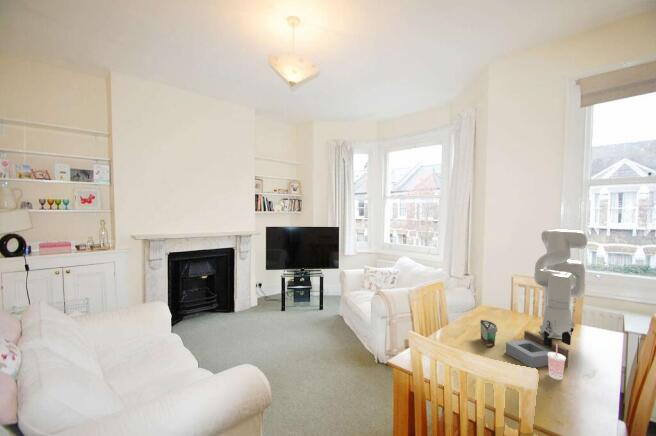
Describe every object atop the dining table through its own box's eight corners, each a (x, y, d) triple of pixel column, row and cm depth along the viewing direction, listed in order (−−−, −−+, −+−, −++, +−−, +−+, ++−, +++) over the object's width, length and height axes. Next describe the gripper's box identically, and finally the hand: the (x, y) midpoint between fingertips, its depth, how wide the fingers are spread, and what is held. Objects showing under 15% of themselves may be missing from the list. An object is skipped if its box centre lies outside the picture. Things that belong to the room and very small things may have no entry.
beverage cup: (568, 381, 119) (569, 348, 118) (551, 380, 120) (552, 346, 119) (559, 373, 125) (560, 341, 124) (543, 371, 126) (544, 339, 125)
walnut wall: (527, 346, 149) (527, 330, 148) (567, 367, 129) (568, 349, 129) (523, 346, 148) (524, 331, 148) (564, 367, 129) (565, 350, 128)
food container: (501, 349, 145) (501, 329, 144) (487, 348, 146) (488, 328, 146) (492, 338, 157) (492, 320, 156) (479, 337, 158) (480, 319, 158)
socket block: (528, 349, 145) (529, 339, 145) (557, 364, 132) (557, 353, 131) (505, 352, 142) (505, 342, 141) (532, 368, 128) (532, 357, 128)
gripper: (565, 299, 126) (563, 338, 127) (533, 302, 122) (531, 342, 123) (584, 305, 119) (582, 346, 120) (550, 308, 115) (549, 351, 116)
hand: (556, 344), depth 121 cm, fingers open, 9 cm apart
